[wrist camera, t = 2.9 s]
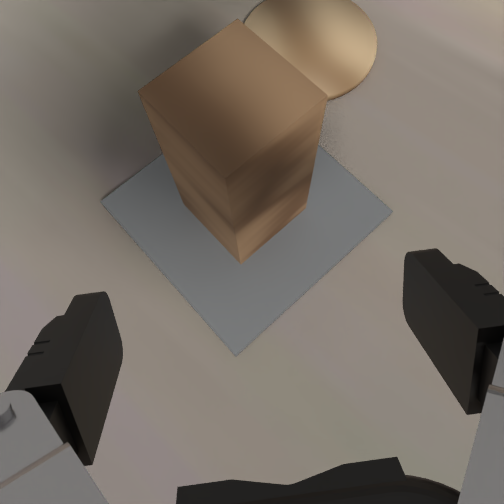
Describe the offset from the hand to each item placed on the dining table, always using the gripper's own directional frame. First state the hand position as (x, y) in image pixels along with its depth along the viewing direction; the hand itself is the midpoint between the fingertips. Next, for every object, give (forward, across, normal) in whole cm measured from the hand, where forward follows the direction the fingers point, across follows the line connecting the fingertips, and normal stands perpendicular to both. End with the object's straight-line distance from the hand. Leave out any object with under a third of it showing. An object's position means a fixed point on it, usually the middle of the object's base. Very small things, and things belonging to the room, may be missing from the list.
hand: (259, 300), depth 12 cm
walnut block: (+14, 0, +2) cm, 15 cm away
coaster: (+23, -6, -5) cm, 24 cm away
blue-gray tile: (+15, 0, +3) cm, 15 cm away
